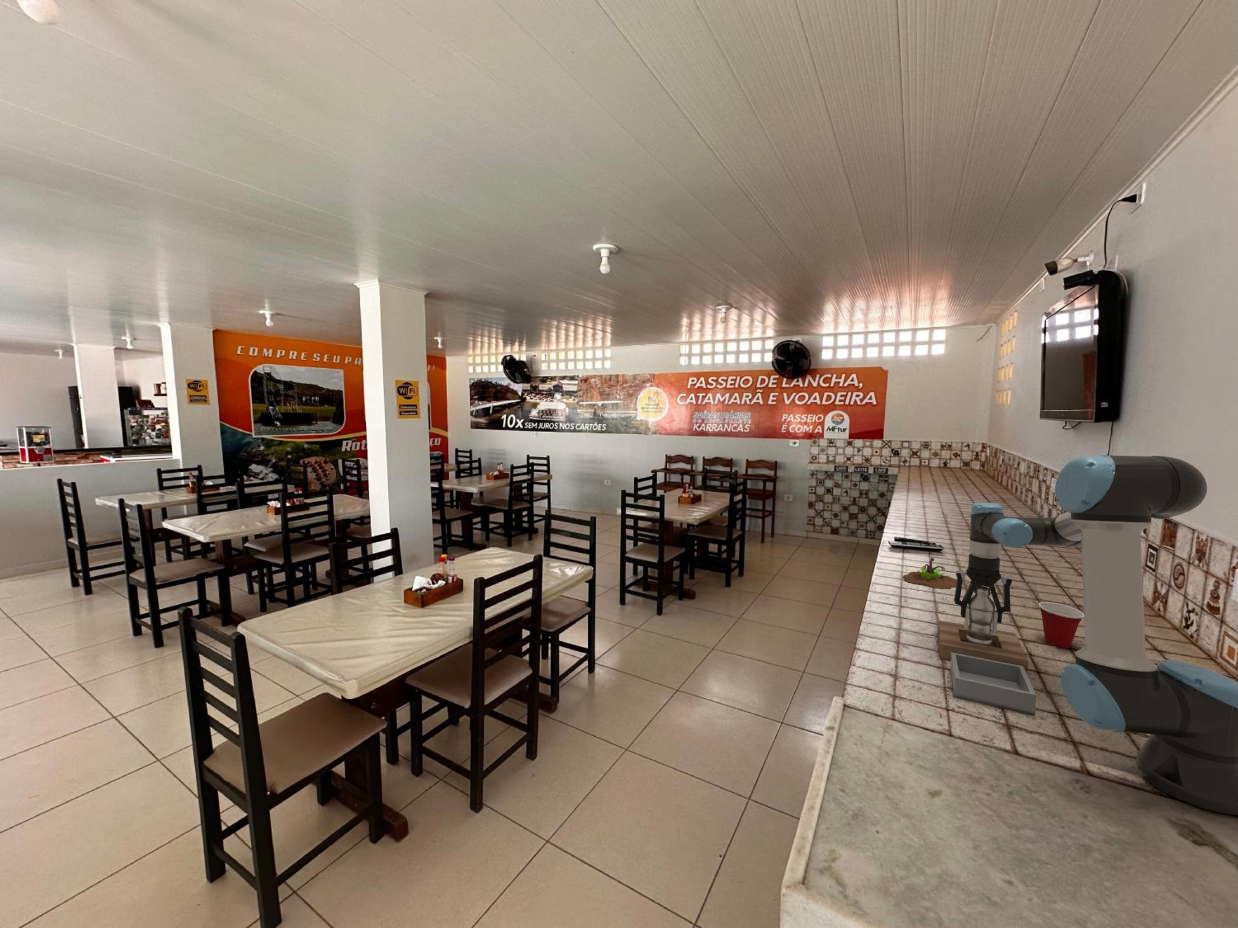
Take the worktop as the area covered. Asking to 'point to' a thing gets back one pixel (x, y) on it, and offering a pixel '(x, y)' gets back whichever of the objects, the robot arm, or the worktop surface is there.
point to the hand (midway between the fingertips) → (980, 629)
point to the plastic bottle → (980, 617)
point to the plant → (930, 577)
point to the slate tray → (992, 683)
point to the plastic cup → (1059, 623)
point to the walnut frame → (1001, 650)
